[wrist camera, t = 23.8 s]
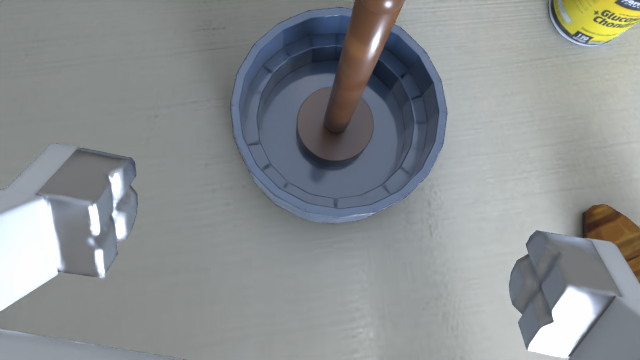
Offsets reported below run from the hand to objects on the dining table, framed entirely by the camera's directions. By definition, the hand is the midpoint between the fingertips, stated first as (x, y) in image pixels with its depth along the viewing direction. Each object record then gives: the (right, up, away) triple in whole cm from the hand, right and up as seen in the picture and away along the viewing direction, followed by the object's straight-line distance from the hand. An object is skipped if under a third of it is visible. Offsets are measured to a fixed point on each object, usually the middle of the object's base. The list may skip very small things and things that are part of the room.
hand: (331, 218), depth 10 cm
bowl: (+1, +4, +29) cm, 29 cm away
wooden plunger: (+1, +5, +28) cm, 28 cm away
